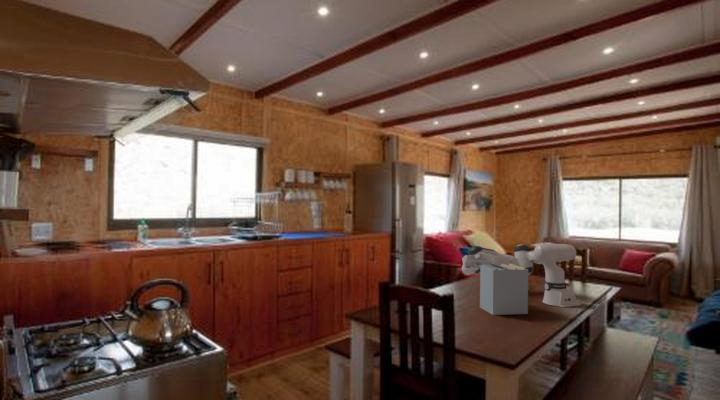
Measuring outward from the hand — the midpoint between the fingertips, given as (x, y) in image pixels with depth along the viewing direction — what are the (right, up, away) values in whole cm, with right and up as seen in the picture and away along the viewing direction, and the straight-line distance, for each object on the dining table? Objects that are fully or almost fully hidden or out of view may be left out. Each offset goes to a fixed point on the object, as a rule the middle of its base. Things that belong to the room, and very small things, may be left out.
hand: (483, 254), depth 239 cm
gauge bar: (+1, -2, -7) cm, 7 cm away
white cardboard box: (+8, -32, -13) cm, 35 cm away
